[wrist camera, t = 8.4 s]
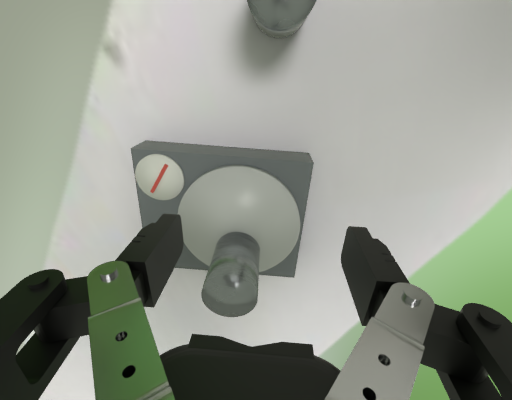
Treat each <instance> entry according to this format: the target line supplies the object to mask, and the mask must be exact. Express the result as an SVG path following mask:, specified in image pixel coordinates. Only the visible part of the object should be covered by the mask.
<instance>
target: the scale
mask: <svg viewBox="0 0 512 400" xmlns="http://www.w3.org/2000/svg"><path fill="white" fill-rule="evenodd" d="M131 153H132V160H133V167H134V174H135V180H136V187H137V194H138V200H139V207H140V214H141V221H142V227H143V228H144V227H145V226H147V225H149V224H150V223H156V222H157V221H158V219H159V218H160V217H161V215H162V214H164V213H166V214H179V215H180V216H181V222H182V232H183V241H184V244H183V251H182V254H181V256H180V258H179V259H178V261H177V263H176V265H175V268H186V269H198V270H209V266H210V263H211V260H212V257H213V254H214V250H215V247H216V244H217V242H218V240H219V239H220V238H221V237H222V236H223V235H225V234H227V233H230V232H243V233H246V234H248V235H250V236H252V237H253V238H254V239H255V240H256V241H257V243H258V244H259V247H260V261H259V275H270V276H282V277H294V275H295V269H296V264H297V258H298V252H299V246H300V240H301V234H302V228H303V222H304V216H305V210H306V204H307V198H308V192H309V187H310V181H311V175H312V169H313V163H314V162H313V160H312V158H311V156H310V154H309V153H301V152H288V151H275V150H262V149H249V148H236V147H223V146H210V145H197V144H184V143H171V142H158V141H144V142H142V143H140V144H138V145H136V146H134V147H133V148H131Z"/></svg>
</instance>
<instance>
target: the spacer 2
mask: <svg viewBox="0 0 512 400" xmlns="http://www.w3.org/2000/svg"><path fill="white" fill-rule="evenodd" d="M247 2H248V5H249V7H250V10H251V12H252V14H253V17H254V19H255V21H256V23H257V25H258V27H259V28H260V29H261V30H262V31H263V32H264V33H265V34H266V35H268V36H270V37H273V38H285V37H288V36H290V35H292V34H293V33H295V32H296V31H297V30H298V29H299V28H300V27H301V25H302V24H303V22H304V21H305V19H306V18H307V16H308V14H309V13H310V11H311V10H312V8H313V6H314V4H315V2H316V0H247Z"/></svg>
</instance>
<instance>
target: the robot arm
mask: <svg viewBox="0 0 512 400" xmlns="http://www.w3.org/2000/svg"><path fill="white" fill-rule="evenodd" d="M183 244H184V241H183V232H182V222H181V216H180V215H179V214H166V213H164V214H162V215H161V217H160V218H159V219H158V221H157V222H156V223H150V224H149V225H147V226H145V227H144V228H142V229H141V231H140V232H139V233H138V234H137V236H136V237H135V238H134V239H133V240H132V242H130V244H129V245H128V246H127V247H126V248H125V250H124V251H123V252H122V253H121V254H120V255H119V257H118V258H117V259H116V260H115V261H110V262H106V263H104V264H101V265H99V266H97V267H96V268H94V269H93V270H92V271H91V272H90V273H89V275H88V276H86V277H80V278H73V279H66V280H65V278H64V275H63V273H62V272H61V271H59V270H55V269H49V270H43V271H39V272H37V273H34V274H32V275H29V276H28V277H26V278H24V279H23V280H22V281H20V282H19V283H18V284H17V285H16V286H15V287H13V288H12V289H11V290H10V291H9V292H8V293H7V294H6V295H5V296H4V297H2V298H1V299H0V400H38V399H39V398H40V396H41V395H42V393H43V392H44V390H45V389H46V387H47V386H48V384H49V383H50V381H51V380H52V378H53V377H54V375H55V374H56V372H57V371H58V369H59V368H60V366H61V365H62V363H63V362H64V360H65V359H66V357H67V356H68V354H69V353H70V351H71V350H72V348H73V347H74V345H75V344H76V342H77V341H78V339H79V338H80V336H84V335H89V337H90V348H91V358H92V368H93V378H94V389H95V399H96V400H409V398H410V395H411V392H412V388H413V385H414V381H415V378H416V375H417V372H418V368H419V365H420V363H421V364H423V365H426V366H429V367H431V368H434V369H436V371H437V373H438V375H439V377H440V379H441V381H442V383H443V385H444V388H445V390H446V392H447V394H448V396H449V398H450V400H512V323H511V322H510V321H509V320H508V319H507V318H506V317H505V316H503V315H502V314H500V313H499V312H497V311H495V310H493V309H492V308H489V307H487V306H484V305H481V304H476V303H468V304H465V305H464V306H463V308H462V310H461V311H460V312H459V311H455V310H452V309H449V308H446V307H443V306H439V305H437V304H434V301H433V299H432V298H431V297H430V296H429V295H428V294H427V293H426V292H425V291H423V290H422V289H421V288H419V287H417V286H415V285H412V284H410V283H409V281H408V280H407V278H406V277H405V275H404V273H403V272H402V270H401V269H400V267H399V265H398V264H397V262H395V259H394V257H393V256H392V255H391V253H390V251H389V249H388V248H387V246H386V245H384V244H383V243H382V242H381V241H380V240H378V239H373V238H372V237H371V235H370V233H369V231H368V230H367V228H366V227H352V226H349V227H348V229H347V232H346V236H345V240H344V245H343V249H342V254H341V263H342V268H343V271H344V274H345V276H346V279H347V282H348V285H349V288H350V291H351V294H352V297H353V300H354V303H355V306H356V309H357V312H358V315H359V318H360V321H361V324H362V326H366V328H365V329H364V331H363V333H362V335H361V337H360V338H359V340H358V342H357V343H356V345H355V347H354V349H353V350H352V352H351V354H350V356H349V358H348V359H347V361H346V363H345V365H344V367H343V368H342V370H341V371H340V370H339V369H338V368H336V367H335V366H334V365H332V364H331V363H329V362H327V361H326V360H324V359H322V358H320V357H317V356H315V355H314V353H313V346H312V345H311V344H300V343H288V342H279V343H273V344H267V345H261V346H255V347H250V346H246V345H244V344H241V343H238V342H235V341H232V340H229V339H227V338H224V337H220V336H209V335H198V334H192V336H191V339H190V342H189V344H187V345H182V346H179V347H176V348H173V349H171V350H169V351H167V352H165V353H163V354H162V355H160V356H159V353H158V349H157V346H156V343H155V340H154V337H153V334H152V331H151V328H150V325H149V322H148V319H147V316H146V313H145V310H144V307H154V306H155V304H156V302H157V300H158V298H159V296H160V295H161V293H162V291H163V289H164V287H165V285H166V283H167V281H168V279H169V277H170V275H171V273H172V271H173V269H174V267H175V265H176V263H177V261H178V259H179V258H180V256H181V254H182V251H183ZM33 330H34V331H35V334H34V335H33V336H32V337H31V338H30V340H29V341H28V342H27V343H26V344H25V345H24V347H23V348H22V349H21V350H20V351H19V353H18V354H17V355H16V353H17V350H18V348H19V347H20V345H21V344H22V342H23V341H24V340H25V339H26V338H27V337H28V335H29V334H30V333H31V332H32V331H33ZM488 375H489V376H490V377H491V379H492V380H493V382H494V383H495V385H496V386H497V388H498V390H499V392H500V394H501V396H500V394H499V393H498V391H497V389H496V388H495V386H494V385H493V383H492V382H491V380H490V378H489V377H488Z"/></svg>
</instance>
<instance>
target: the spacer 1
mask: <svg viewBox="0 0 512 400" xmlns="http://www.w3.org/2000/svg"><path fill="white" fill-rule="evenodd" d="M259 261H260V247H259V244H258V243H257V241H256V240H255V239H254V238H253V237H252V236H250V235H248V234H246V233H243V232H230V233H227V234H225V235H223V236H222V237H221V238H220V239H219V240H218V242H217V244H216V247H215V250H214V254H213V257H212V260H211V263H210V266H209V270H208V273H207V276H206V279H205V282H204V285H203V289H202V294H201V295H202V300H203V302H204V304H205V305H206V306H207V307H208V308H209V309H210V310H211V311H213V312H214V313H216V314H219V315H222V316H226V317H238V316H242V315H245V314H247V313H249V312H250V311H251V310H252V309H253V308H254V307H255V305H256V303H257V297H258V279H259Z"/></svg>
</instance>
